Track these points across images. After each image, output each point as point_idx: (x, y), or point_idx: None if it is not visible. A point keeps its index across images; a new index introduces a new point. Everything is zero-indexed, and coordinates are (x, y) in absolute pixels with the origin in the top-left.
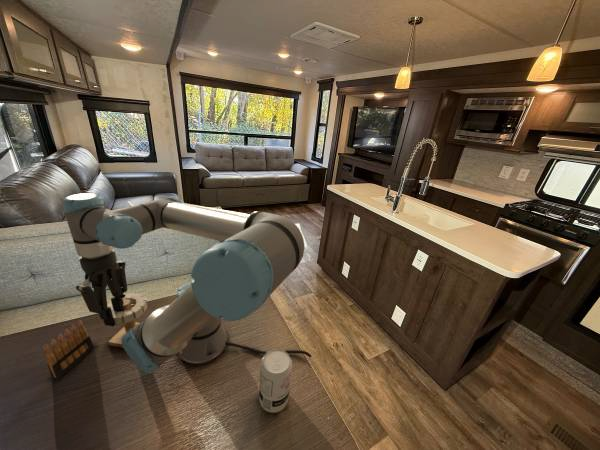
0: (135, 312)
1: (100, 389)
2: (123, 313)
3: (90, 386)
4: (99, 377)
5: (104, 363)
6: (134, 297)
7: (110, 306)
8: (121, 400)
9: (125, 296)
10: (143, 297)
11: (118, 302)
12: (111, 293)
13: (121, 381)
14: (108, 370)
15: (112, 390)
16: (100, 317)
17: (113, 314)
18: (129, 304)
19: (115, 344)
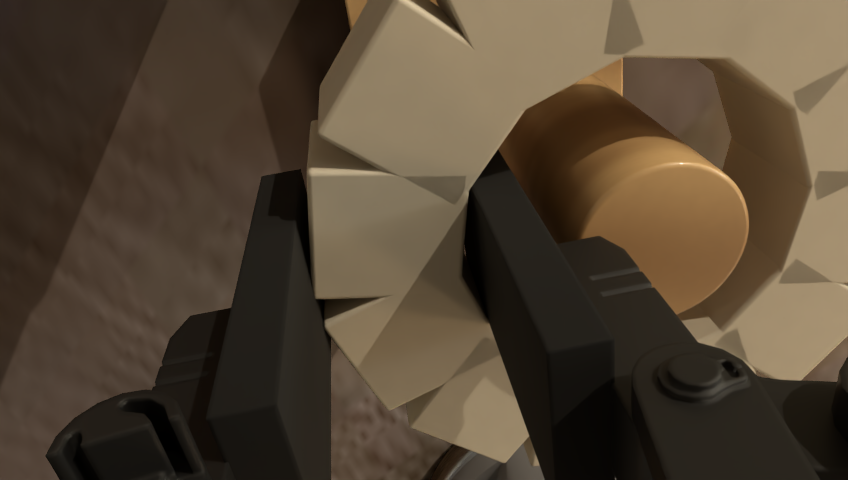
0: (536, 461)
1: (58, 246)
2: (463, 379)
3: (26, 169)
4: (101, 159)
5: (191, 80)
6: (827, 216)
7: (528, 58)
8: (97, 398)
9: (842, 48)
10: (839, 324)
11: (538, 452)
12: (663, 466)
13: (168, 307)
14: (171, 164)
15: (101, 312)
16: (170, 351)
17: (390, 287)
18: None
19: (348, 15)
